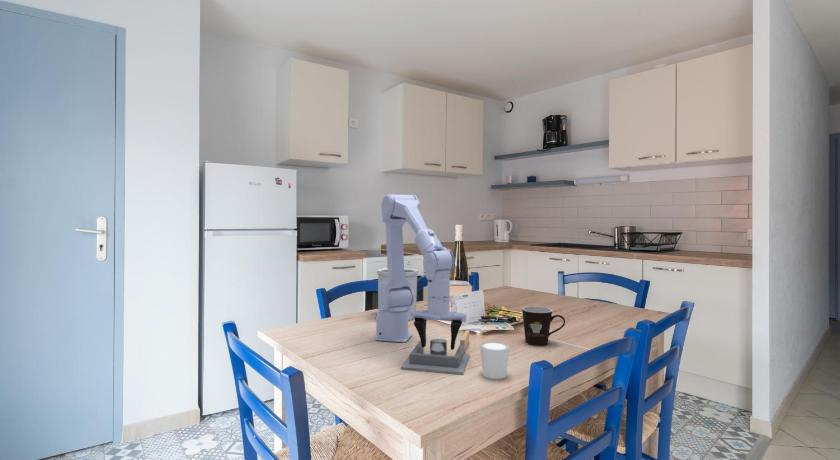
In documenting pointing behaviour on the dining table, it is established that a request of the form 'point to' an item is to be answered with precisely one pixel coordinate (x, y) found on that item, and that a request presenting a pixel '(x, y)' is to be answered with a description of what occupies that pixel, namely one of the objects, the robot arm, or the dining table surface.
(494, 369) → the white cylinder
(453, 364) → the housing
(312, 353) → the dining table surface
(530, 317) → the coffee mug
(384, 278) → the utensil holder
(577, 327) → the dining table surface
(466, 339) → the gate
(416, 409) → the dining table surface
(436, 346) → the steel cylinder
